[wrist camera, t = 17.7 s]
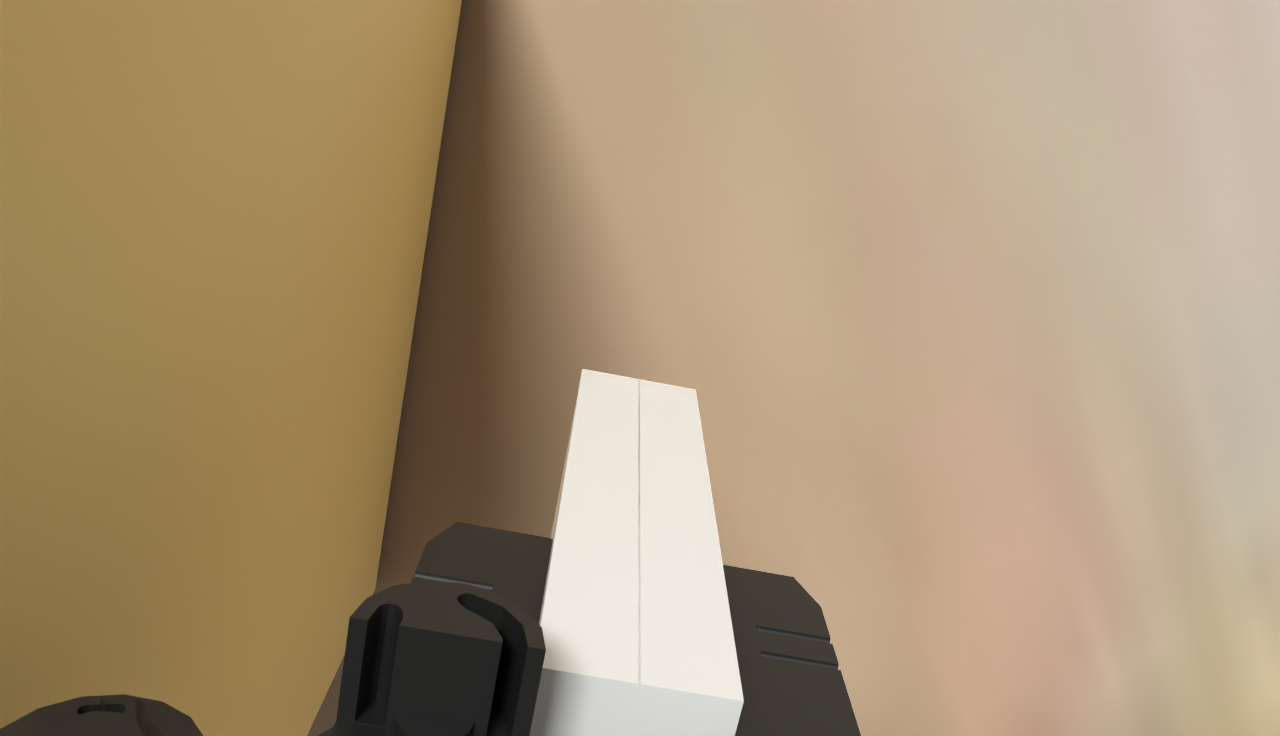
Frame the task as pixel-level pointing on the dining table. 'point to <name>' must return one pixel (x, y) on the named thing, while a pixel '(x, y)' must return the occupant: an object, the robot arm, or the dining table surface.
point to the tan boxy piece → (205, 339)
